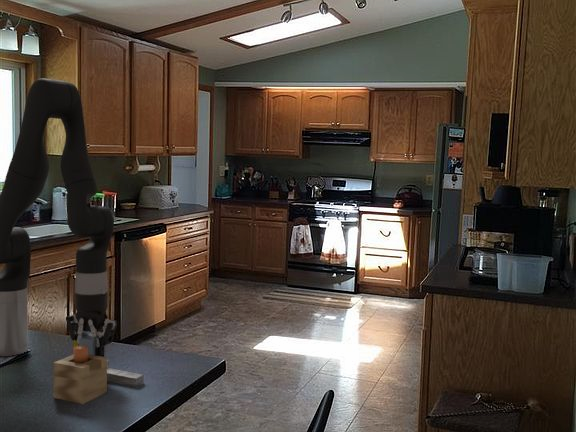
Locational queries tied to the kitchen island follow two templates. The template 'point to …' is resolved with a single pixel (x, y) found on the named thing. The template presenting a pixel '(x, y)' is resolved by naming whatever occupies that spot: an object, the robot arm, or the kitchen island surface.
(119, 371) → the rail
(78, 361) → the brown egg
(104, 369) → the open wooden box
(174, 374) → the kitchen island surface
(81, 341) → the carriage
